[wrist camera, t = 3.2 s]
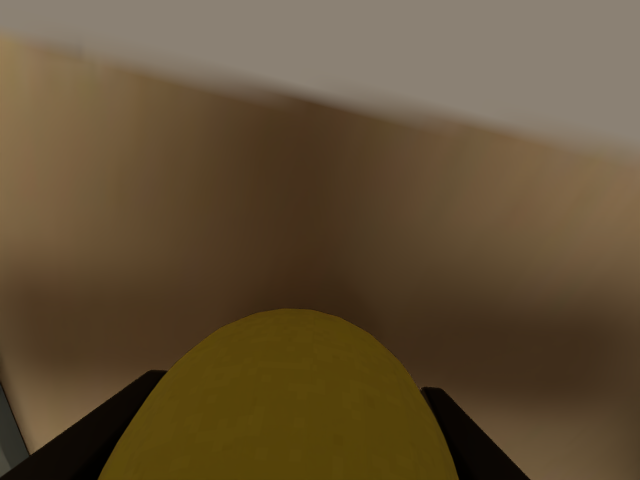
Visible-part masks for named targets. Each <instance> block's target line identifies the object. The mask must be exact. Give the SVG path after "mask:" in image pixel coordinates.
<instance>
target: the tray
mask: <svg viewBox="0 0 640 480" xmlns="http://www.w3.org/2000/svg"><path fill="white" fill-rule="evenodd" d="M28 457H29V455H28V452H27V450H26V447H25V445H24V442H23V440H22V437H21V435H20V432H19V430H18V427H17V425H16V422H15V420H14V417H13V415H12V412H11V410H10V407H9V405H8V402H7V400H6V397H5V395H4V392H3V390H2V387H1V385H0V477H1V476H2V475H4V474H5V473H7V472H8V471H9V470H11V469H12V468H14V467H15V466H16V465H18V464H19V463H21V462H22V461H23V460H25V459H26V458H28Z"/></svg>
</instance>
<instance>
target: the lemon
mask: <svg viewBox="0 0 640 480" xmlns="http://www.w3.org/2000/svg"><path fill="white" fill-rule="evenodd" d="M98 480H459V478H458V475H457V472H456V468H455V465H454V462H453V459H452V456H451V453H450V451H449V448H448V446H447V443H446V440H445V438H444V435H443V433H442V431H441V429H440V427H439V425H438V423H437V421H436V419H435V416H434V415H433V413H432V411H431V409H430V408H429V406H428V404H427V403H426V401H425V399H424V397H423V396H422V394H421V393H420V391H419V389H418V388H417V386H416V384H415V383H414V381H413V379H412V378H411V376H410V374H409V373H408V372H407V370H406V369H405V368H404V366H403V365H402V363H401V362H400V361H399V360H398V359H397V358H396V357H395V356H394V355H393V354H392V353H391V352H390V351H389V350H387V349H386V348H385V347H384V346H383V345H382V344H381V343H380V342H379V341H377V340H376V339H375V338H374V337H373V336H372V335H371V334H369V333H368V332H366V331H364V330H363V329H361V328H359V327H357V326H355V325H353V324H352V323H350V322H348V321H346V320H344V319H342V318H340V317H338V316H334V315H330V314H326V313H323V312H319V311H315V310H310V309H288V308H283V309H277V310H271V311H265V312H259V313H255V314H252V315H249V316H247V317H244V318H242V319H240V320H237V321H235V322H232V323H230V324H228V325H225V326H223V327H221V328H219V329H218V330H216V331H215V332H213V333H212V334H210V335H209V336H208V337H206V338H205V339H204V340H203V341H201V342H200V343H199V344H197V345H196V346H195V347H194V348H192V349H191V350H190V351H188V352H187V353H186V354H185V355H184V356H183V357H182V358H181V359H179V360H178V361H177V362H176V363H175V364H174V365H173V366H172V367H171V369H170V370H169V371H168V372H167V373H166V374H165V375H164V376H163V377H162V379H161V380H160V381H159V383H158V384H157V385H156V387H155V388H154V389H153V390H152V392H151V393H150V394H149V396H148V397H147V399H146V400H145V402H144V403H143V405H142V406H141V408H140V409H139V410H138V412H137V413H136V415H135V416H134V418H133V419H132V421H131V422H130V424H129V425H128V427H127V428H126V430H125V432H124V433H123V435H122V436H121V438H120V439H119V441H118V442H117V444H116V446H115V448H114V450H113V451H112V453H111V455H110V457H109V459H108V460H107V462H106V464H105V466H104V468H103V470H102V472H101V474H100V476H99V478H98Z"/></svg>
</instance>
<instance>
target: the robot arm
mask: <svg viewBox="0 0 640 480" xmlns="http://www.w3.org/2000/svg"><path fill="white" fill-rule="evenodd" d="M167 372H168V371H165V370H150V371H148V372H146V373H145V374H143V375H142V376H141V377H139V378H138V379H136V380H135V381H134V382H132V383H131V384H129V385H128V386H127V387H125V388H124V389H122V390H121V391H120V392H118V393H117V394H115V395H114V396H113V397H111V398H110V399H108V400H107V401H106V402H104V403H103V404H102V405H100V406H99V407H97V408H96V409H95V410H93V411H92V412H90V413H89V414H88V415H86V416H85V417H83V418H82V419H81V420H79V421H78V422H76V423H75V424H74V425H72V426H71V427H69V428H68V429H67V430H65V431H64V432H62V433H61V434H60V435H58V436H57V437H55V438H54V439H53V440H51V441H50V442H48V443H47V444H46V445H44V446H43V447H42V448H40V449H39V450H37V451H36V452H35V453H33V454H32V455H30V456H29V457H28V458H26V459H25V460H23V461H22V462H21V463H19V464H18V465H16V466H15V467H14V468H12V469H11V470H9V471H8V472H7V473H5V474H4V475H2V476H1V477H0V480H98V478H99V476H100V474H101V472H102V470H103V468H104V466H105V464H106V462H107V460H108V459H109V457H110V455H111V453H112V451H113V450H114V448H115V446H116V444H117V442H118V441H119V439H120V438H121V436H122V435H123V433H124V432H125V430H126V428H127V427H128V425H129V424H130V422H131V421H132V419H133V418H134V416H135V415H136V413H137V412H138V410H139V409H140V408H141V406H142V405H143V403H144V402H145V400H146V399H147V397H148V396H149V394H150V393H151V392H152V390H153V389H154V388H155V387H156V385H157V384H158V383H159V381H160V380H161V379H162V377H163V376H164V375H165V374H166V373H167ZM420 393H421V394H422V396H423V397H424V399H425V401H426V403H427V404H428V406H429V408H430V409H431V411H432V413H433V415H434V416H435V419H436V421H437V423H438V425H439V427H440V429H441V431H442V433H443V435H444V438H445V440H446V443H447V446H448V448H449V451H450V453H451V456H452V459H453V462H454V465H455V468H456V472H457V475H458V478H459V480H530V479H529V478H528V477H527V476H526V475H525V474H524V473H523V472H522V471H521V470H520V468H519V467H518V466H517V465H516V464H515V463H514V462H513V461H512V460H511V459H510V458H509V457H508V456H507V455H506V454H505V453H504V452H503V451H502V450H501V449H500V448H499V447H498V446H497V445H496V444H495V443H494V442H493V441H492V440H491V439H490V438H489V437H488V436H487V435H486V433H485V432H484V431H483V430H482V429H481V428H480V427H479V426H478V425H477V424H476V423H475V422H474V421H473V420H472V419H471V418H470V417H469V416H468V415H467V414H466V413H465V412H464V411H463V410H462V409H461V408H460V407H459V406H458V405H457V404H456V403H455V402H454V401H453V400H452V398H451V397H450V396H449V395H448V394H447V393H446V392H445V391H444V390H442V389H441V388H435V387H423V388H422V389H421V391H420Z"/></svg>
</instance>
